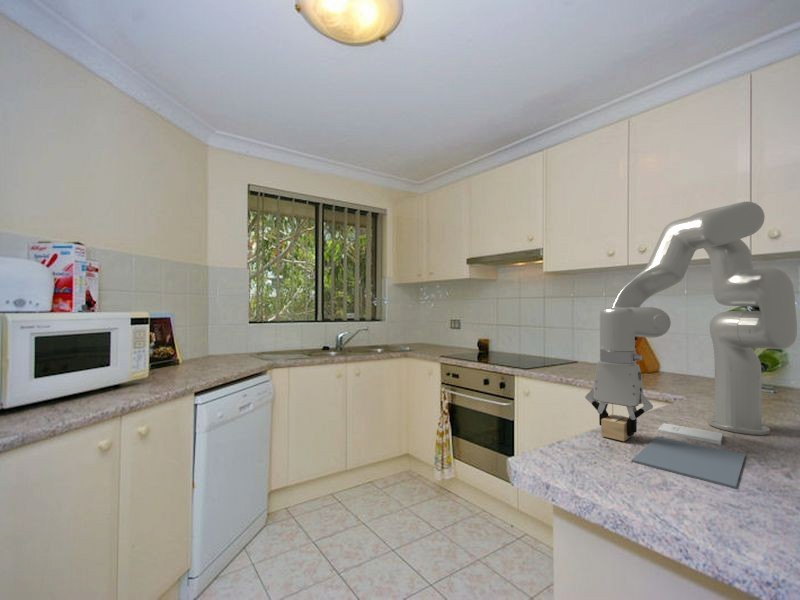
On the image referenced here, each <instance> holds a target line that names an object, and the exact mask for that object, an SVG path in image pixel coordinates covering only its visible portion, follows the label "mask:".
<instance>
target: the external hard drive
mask: <svg viewBox="0 0 800 600" xmlns="http://www.w3.org/2000/svg"><path fill="white" fill-rule="evenodd" d="M658 432H659V434H665V435H668V436H669V435H670V436H675V437H679V438H684V439H690V440H693V441H699V442H700V441H701V442H703V443H704V442H706V443H709V444H710V443H711V444H716V445H721V446H722V444H723V440H724V433H723V432H717V431H712V430H705V429H700V428H695V427H690V426H682V425H677V424H673V423H664V422H663V423H662V424H661V425H660V426H659V428H658V429H657V433H658Z"/></svg>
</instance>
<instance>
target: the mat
mask: <svg viewBox="0 0 800 600" xmlns="http://www.w3.org/2000/svg"><path fill="white" fill-rule="evenodd" d="M745 458H746V454H743V453H739V452H735V451H729V450H724V449H719V448H714V447H710V446H705V445H700V444H695V443H691V442H686V441H681V440H676V439H671V438H667V437H662V436H656V437H654V439H653V440H651V441H650V442H649V443H648V444H647V445H646V446H645V447H644V448H642V450H641V451H639V452H638V453H637V454H636V455H635V456H634V457H633V458H632V459H631V462H632V463H636V464H640V465H643V466H647V467H650V468H655V469H658V470H663V471H666V472H670V473H674V474H678V475H682V476H686V477H690V478H693V479H698V480H700V481H705V482H708V483H712V484H713V483H714V484H715V485H720V486H725V487H728V488H731V489H737V485H738V483H739V479H740V475H741V472H742V469H743V465H744V463H745V462H744V461H745Z"/></svg>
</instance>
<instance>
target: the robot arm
mask: <svg viewBox="0 0 800 600" xmlns="http://www.w3.org/2000/svg"><path fill="white" fill-rule="evenodd" d="M765 218H766V217H765V212H764V210H763V209H762V207H761V206H760V205H758V203H756V202H753V201H741V202H737V203H732V204H729V205H724V206H720V207H716V208H711V209H707V210H706V209H705V210H703V211H700V212H698V213H695V214H692V215H690V216H688V217H684V218H680V219H677V220H674V221H671V222H670V223H668V224H667V225H666V226H665V227H664V228H663V230H662V232H661V233H660V236H659V238H658V241H657V242H656V245H655V248H654V249H653V252H652V254H651V256H650V258H649V259H648V262H647V265H646V266H645V268H644V269H643V270H642V271H641V272H639V273H638V274H637V275H636V276H635V277H634V278H632V279H631V280H630V281H629V282H628V283H627V284H626V285H624V287H623V288H622V289H621V290H620V292H619V293H618V294H617V296H616V298H615V300H614V302H613V304H612V307H605V308H603V309H601V310H600V312H599V360H598V361H597V362H596V365H595V367H596V368H595V372H594V373H595V374H594V377H593V378H594V380H593V388H592V389H591V390H590V391H589V392H588V393H586V395H585V396H584V398H585V399H586V400H587V401H588V402H589V403H590V404H591V406H593V408H594V409H595V410H596V411H597V413H598V414H599V418H598V419H599V421H598V423H599V426H600V427H601V419H603V418H605V417H607V416H609V413H608V411H607V409H608V405H616V406H617V405H618V406H620V407H621V406H622V407H626V410H627V412H628V418H629V419H627V435H628V436H631V437H633V436H634V435H635V434H636V433H637V430H638V429H637V428H638V427H637V425H638V424H637V423H638V422H637V419H638V418H639V417H640V416H642V415H643V414H645V413H647V412H649V411H650V410H652V409H653V408H654V405H653V404H652V403H651V401H649V399H648V398H647V397H646V396H645V394H644V386H643V377H642V372H641V367H640V364H638V363H636V362H638V361H642V360H643V356H642V354H638V353H637V351H636V342H635V340H636V337H638V338H639V337H640V338H649V339H650V338H653V339H655V338H659V337H662V336H664V335H665V334H667V333H668V332H669V330H670V327H671V318H670V316H669V314H668V313H667V312H666V311H665V310H663V309H660V308H657V307H653V306H646V307H645V306H642V304H644V303H645V302H646V301H647V300H648V299H649V298H651V297H652V296H654V295H656V294H658V293H659V292H663V291H665V290H667V289H669V288H671V287H673V286H675V285H677V284H679V283H680V282H681V281H682V280H683V279H684V277H685V276H686V273H687V270H688V268H689V265H690V264H691V261H692V259H693V257H694V254H695V252H696V251H697V250H701V249H703V250H705V252H706V253H707V255H708V258H709V261H710V268H711V269H710V271H711V281H712V283H711V284H712V291H713V295H714V296H713V297H714V299H715V300H716V302H717V303H718V304H720V305H723V306H726V307H727V306H729V307H730V306H731V307H758V308H759V310H728V311H723V312H720V313H717V314H716V315H714V316H713V317H712V318H711V319H710V322H709V332H710V333H709V334H710V337H711V341H712V347H713V355H714V416H713V417H709V418H707V424H708V425H709V426H712V427H714V428H717V429H719V430H723V431H729V432H732V433H733V432H734V433H738V434H746V435H756V436H764V435H769V434H770V433H771V428H770V427H768V426H767V425H765V424H763V422H762V421H763V420H762V416H763V415H762V413H763V411H762V406H763V405H762V404H763V402H762V400H763V399H762V363H761V360H760V358H759V357H758V355H757V353H756V352H755V351H754V350H753V348H756V349H766V350H767V349H769V350H783V349H787V348H789V347H791V346H793V345H794V343H795V342H796V339H797V337H798V323H797V322H798V320H797V319H798V318H797V310H796V297H795V289H794V284H793V282H792V279H791V278H790V276H789V275H788V274H787V273H786V272H785V271H783V270H781V269H779V268H775V267H774V268H773V267H772V268H771V267H767V268H754V266H753V260H752V253H751V250H750V248H749V247H748V245H747V244H746V243H745V242H744V241H743V240H742V239H745V238H747V237H750V236H752V235H754V234H755V233H757V232H758V231H760V230H761V228H762V227H763V225H764V222H765ZM641 306H642V307H641ZM639 405H643V406H642V407H640V408H638V409H637V407H638V406H639ZM633 434H634V435H633ZM632 435H633V436H632Z"/></svg>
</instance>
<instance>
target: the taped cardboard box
mask: <svg viewBox="0 0 800 600" xmlns="http://www.w3.org/2000/svg"><path fill="white" fill-rule="evenodd" d="M627 419H629V416H628V417H627V416H625V415H618V414H608V416H607V417H605V418H603V419H601V426H600V433H601V435H600V436H601V437H605V438H607V439H611V440H612V439H613V440H617V441H622V442H625V441H627V440H629V438H631V437H633V436H634V435H635V433H634V434H633V435H632V436H628V435H627Z"/></svg>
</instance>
